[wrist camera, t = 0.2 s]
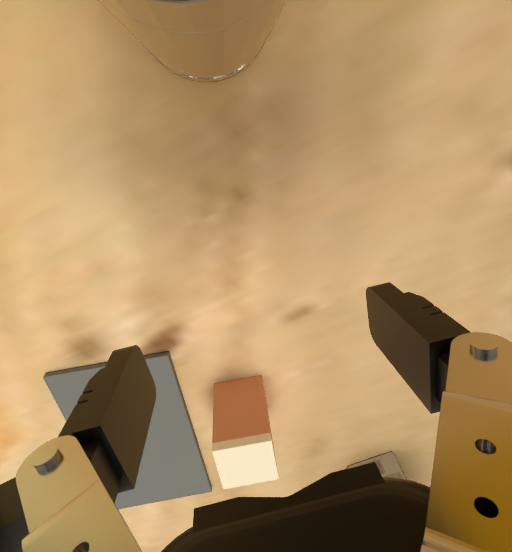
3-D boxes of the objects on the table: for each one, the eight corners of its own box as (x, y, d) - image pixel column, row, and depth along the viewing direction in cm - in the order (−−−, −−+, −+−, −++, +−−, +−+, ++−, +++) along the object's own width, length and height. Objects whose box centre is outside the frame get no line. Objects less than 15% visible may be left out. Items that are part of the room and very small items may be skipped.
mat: (46, 373, 33) (43, 377, 32) (168, 351, 33) (167, 355, 32) (115, 504, 41) (114, 509, 41) (211, 486, 42) (211, 491, 41)
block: (214, 383, 35) (212, 451, 28) (261, 375, 35) (271, 440, 28) (223, 417, 37) (223, 489, 30) (267, 409, 37) (278, 479, 30)
